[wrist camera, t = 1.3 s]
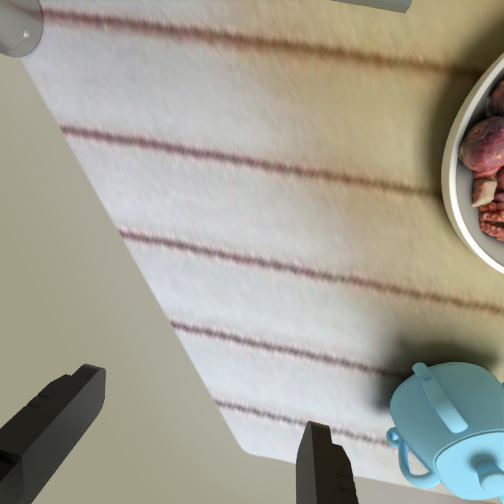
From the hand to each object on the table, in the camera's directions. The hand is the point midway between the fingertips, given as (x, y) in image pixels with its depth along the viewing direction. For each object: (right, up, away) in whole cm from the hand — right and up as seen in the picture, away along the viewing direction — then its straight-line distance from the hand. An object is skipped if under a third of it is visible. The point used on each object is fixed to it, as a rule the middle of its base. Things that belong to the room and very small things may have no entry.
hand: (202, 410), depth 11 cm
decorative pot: (+31, -16, +35) cm, 49 cm away
